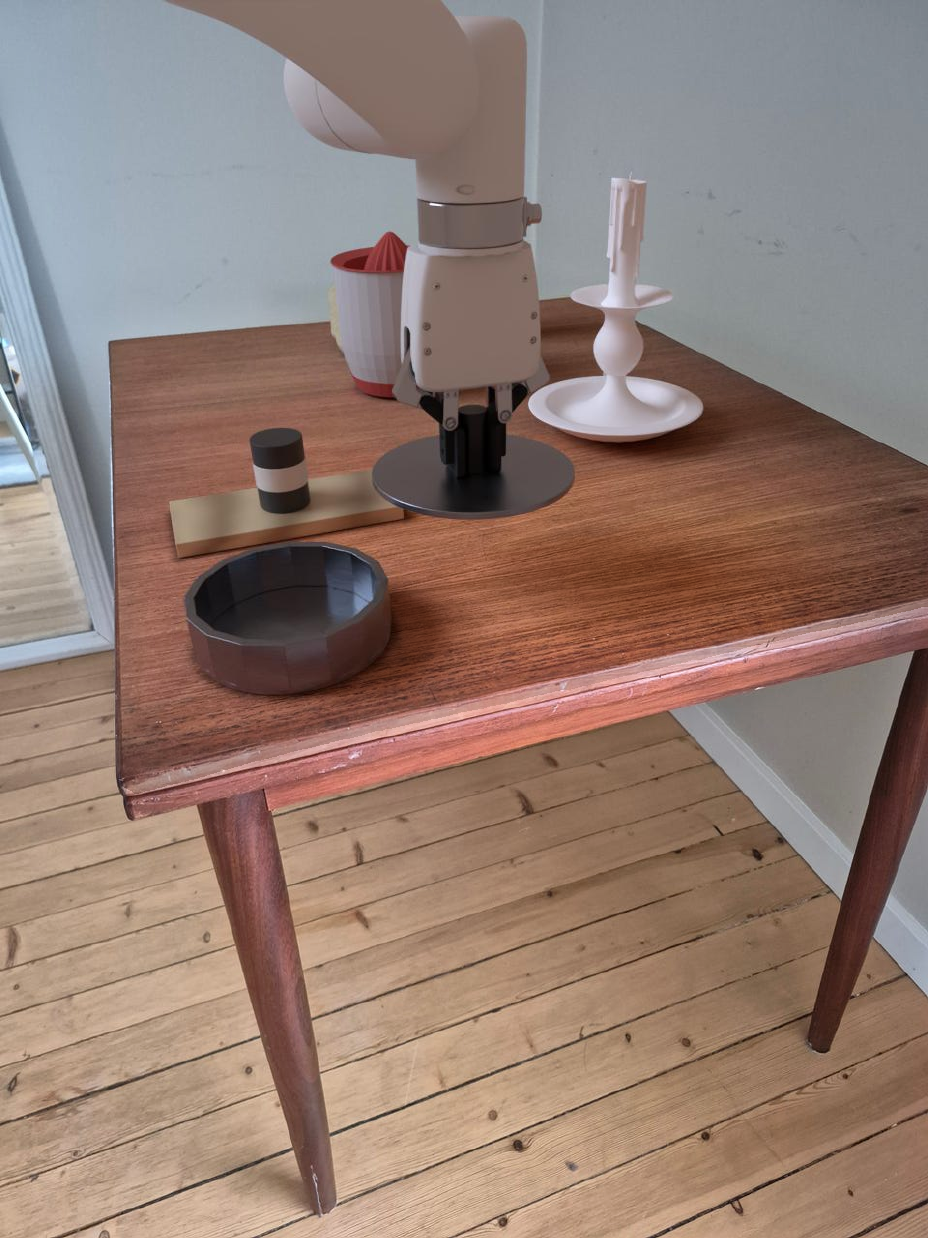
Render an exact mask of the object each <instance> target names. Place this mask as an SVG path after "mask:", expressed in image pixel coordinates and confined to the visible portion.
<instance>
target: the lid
mask: <svg viewBox="0 0 928 1238" xmlns="http://www.w3.org/2000/svg"><path fill="white" fill-rule="evenodd" d="M458 419H459V420H460V426H461V427H462V429H463V430H464V432H465V475H463V477H456V476H455V475H454V474H453V473H452V472H451V470H450V469H449V468H448V467H447V465H444V464H443V463H442V461H441V458H440V440H439V434H437V435H432V436H426V437H422V438H418V439H414V440H412V441H409V442H406V443H403V444H400V445H398V446H396V447H394V448H392V449H390V450H389V451H386V452H385V453H384V454H382V455H381V456H380V457H379V458H378V459H377V461H375V463H374V464H373V466H372V468H371V469H372V483H373V486H374V488H375V490H376V491H377V493H378V494H379V495H380V496H381V497H382V498H384V499H385V500H386V501H388V502H390V503H391V504H393V505H395V506H397V507H400V508H402V509H403V510H405V511H408V512H411V513H415V514H419V515H422V516H427V517H433V518H440V519H446V520H447V519H448V520H464V521H465V520H466V521H467V520H468V521H472V520H474V521H475V520H478V521H479V520H482V521H483V520H494V519H502V518H510V517H514V516H516V517H517V516H520V515H525V514H528V513H532V512H536V511H538V510H540V509H543V508H546V507H548V506H551V505H553V504H555V503H556V502H558V501H560V500H561V499H562V498H564V497H565V496H566V495H567V494H568V493H569V492H570V490H572V488H573V486H574V484H575V477H576V469H575V465H574V463H573V462H572V459H570V457H568V456H567V455H566V454H565V453H564V452H562V451H561V450H559V449H557V448H556V447H554V446H552V445H550V444H547V443H545V442H542V441H539V440H536V439H532V438H528V437H524V436H519V435H515V434H507V433H506V455H505V456H503V457H501V471H497V472H494V471H493V470H491V469H490V468H489V467H488V409H487V407H486V406H484V405H480V404H465V405H462V406H460V407H459V410H458Z"/></svg>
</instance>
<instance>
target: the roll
mask: <svg viewBox="0 0 928 1238" xmlns="http://www.w3.org/2000/svg"><path fill="white" fill-rule="evenodd" d="M249 446H250V451H251V457H252V466H253V472H254V479H255V484H256V488H258V494H259V500H260V506H261V508H262V509H263V510H265V511H267V512H270V513H277V514H283V513H291V512H295V511H299V510H301V509H303V508H305V507H306V506H308V505H309V503H310V492H309V484H308V479H309V473H308V467H307V466H308V465H307V459H306V455H305V447H304V439H303V434H302V432H301V431H299V429H295V428H291V427H273V428H267V429H262V430H260V431H257V432H255V433H254V434H253V435H252V434H251V436H250V437H249Z"/></svg>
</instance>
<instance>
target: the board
mask: <svg viewBox="0 0 928 1238" xmlns="http://www.w3.org/2000/svg"><path fill="white" fill-rule="evenodd" d="M372 469H373V468H371V469H365V470H359V471H351V472H345V473H339V474H332V475H327V476H326V475H325V476H320V477H314V478H308V484H309V492H310V503H309V505H308V506H306V507H305V508H303V509H301V510H299V511H295V512H291V513H283V514H277V513H270V512H267V511H265V510H263V509H262V508H261V506H260V500H259V494H258V488H257V487H251V488H245V489H238V490H233V491H228V492H220V493H219V492H218V493H213V494H208V495H201V496H194V497H189V498H182V499H177V500H175V499H174V500H169V503H168V504H169V511H170V516H171V524H172V530H173V537H174V543H175V548H176V553H177V557H178V559H181V558H187V557H192V556H199V555H205V554H210V553H215V552H221V551H227V550H234V549H239V548H244V547H245V548H246V547H250V546H256V545H261V544H267V543H273V542H278V541H284V540H290V539H295V538H301V537H309V536H314V535H319V534H325V533H330V532H335V531H342V530H347V529H354V528H358V527H365V526H369V525H376V524H381V523H389V522H394V521H399V520H404V519H405V512H404V510H405V509H402V508H400V507H397V506H395V505H393V504H391V503H390V502H388V501H386V500H385V499H384V498H382V497H381V496H380V495H379V494H378V493H377V491H376V490H375V488H374V486H373V483H372Z"/></svg>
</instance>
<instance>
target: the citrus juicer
mask: <svg viewBox="0 0 928 1238" xmlns="http://www.w3.org/2000/svg"><path fill="white" fill-rule="evenodd" d="M409 246H410V245H408V244H406V243H405V242H404V241H403V240H402V239H401V237H399V236H398V235H397V234H396V233H394V232H392V231H387V232H385V233H384V234H383V235H382V236H381V238H379V240H378V241H377V243H376V244H375V245H374V246H370V247H369V246H368V247H362V248H356V249H350V250H347V251H343V252H340V253H337V254H336V255H334V256H332V258H330V262H329V263H330V265H331V266H332V269H333V270H332V271H333V279H334V281H333V282H334V284H335V291H336V301H337V310H338V320H339V330H340V336H341V342H342V347H343V350H344V353H343V355H344V358H345V360H346V363H347V366H348V368H349V370H350V375H351V377H352V379H353V381H354V383H355V385H356V387H357V388H358V390H359V391H360V392H363V393H365V394H366V395H370V396H375V397H380V398H395V397H394V396H393V394H392V389H393V387H394V384H395V381H396V379H397V376H398V373H399V371H400V368H401V366H402V361H401V306H402V288H403V275H404V266H405V259H406V253H407V248H408V247H409ZM416 388H418V389H420V388H419V387H418V386H417V384H416ZM420 390H422V389H420ZM423 391H425V390H423ZM427 392H428V391H427Z"/></svg>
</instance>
